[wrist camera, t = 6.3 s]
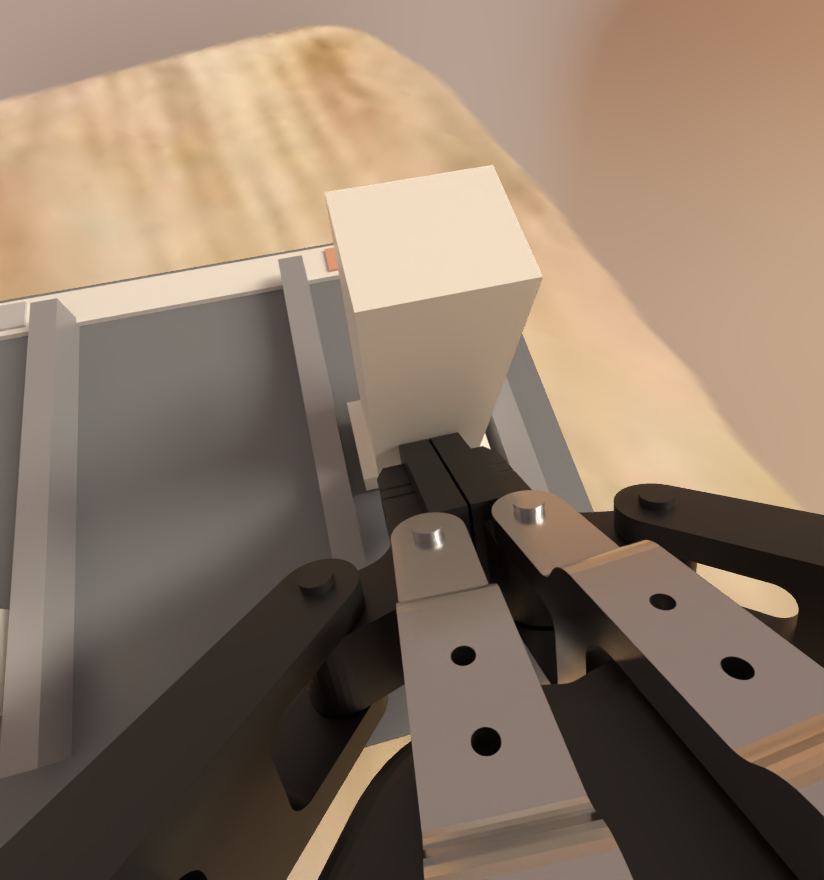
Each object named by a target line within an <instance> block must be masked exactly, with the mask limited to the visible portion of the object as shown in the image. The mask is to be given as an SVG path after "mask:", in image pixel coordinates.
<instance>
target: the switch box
mask: <svg viewBox="0 0 824 880" xmlns="http://www.w3.org/2000/svg"><path fill="white" fill-rule="evenodd" d="M358 400H360V395H359V389H358V383H357V377H356V372H355V366H354V360H353V354H352V348H351V342H350V337H349V331H348V325H347V319H346V313H345V308H344V302H343V296H342V290H341V284H340V279H339V273H338V267H337V261H336V255H335V249H334V244H333V243H332V244H326V245H320V246H314V247H309V248H303V249H297V250H291V251H286V252H280V253H274V254H269V255H263V256H257V257H251V258H246V259H240V260H234V261H228V262H223V263H217V264H211V265H205V266H200V267H194V268H188V269H182V270H177V271H171V272H165V273H160V274H154V275H148V276H142V277H137V278H131V279H125V280H119V281H114V282H108V283H102V284H96V285H91V286H85V287H79V288H73V289H68V290H62V291H56V292H50V293H45V294H39V295H33V296H28V297H22V298H16V299H10V300H5V301H0V609H8V610H10V611H9V626H8V641H7V655H6V670H5V685H4V700H3V715H2V716H0V848H1V847H2V846H3V845H4V844H5V843H6V842H8V841H9V840H10V839H11V838H12V837H13V836H14V835H15V834H16V833H17V832H18V831H19V830H20V829H21V828H22V827H23V826H24V825H25V824H26V823H28V822H29V821H30V820H31V819H32V818H33V817H34V816H35V815H36V814H37V813H38V812H39V811H40V810H41V809H42V808H43V807H44V806H45V805H46V804H47V803H49V802H50V801H51V800H52V799H53V798H54V797H55V796H56V795H57V794H58V793H59V792H60V791H61V790H62V789H63V788H64V787H65V786H66V785H67V784H68V783H70V782H71V781H72V780H73V779H74V778H75V777H76V776H77V775H78V774H79V773H80V772H81V771H82V770H83V769H84V768H85V767H86V766H87V765H88V764H90V763H91V762H92V761H93V760H94V759H95V758H96V757H97V756H98V755H99V754H100V753H101V752H102V751H103V750H104V749H105V748H106V747H107V746H108V745H109V744H111V743H112V742H113V741H114V740H115V739H116V738H117V737H118V736H119V735H120V734H121V733H122V732H123V731H124V730H125V729H126V728H127V727H128V726H129V725H131V724H132V723H133V722H134V721H135V720H136V719H137V718H138V717H139V716H140V715H141V714H142V713H143V712H144V711H145V710H146V709H147V708H148V707H149V706H150V705H152V704H153V703H154V702H155V701H156V700H157V699H158V698H159V697H160V696H161V695H162V694H163V693H164V692H165V691H166V690H167V689H168V688H169V687H170V686H171V685H173V684H174V683H175V682H176V681H177V680H178V679H179V678H180V677H181V676H182V675H183V674H184V673H185V672H186V671H187V670H188V669H189V668H190V667H191V666H193V665H194V664H195V663H196V662H197V661H198V660H199V659H200V658H201V657H202V656H203V655H204V654H205V653H206V652H207V651H208V650H209V649H210V648H211V647H212V646H214V645H215V644H216V643H217V642H218V641H219V640H220V639H221V638H222V637H223V636H224V635H225V634H226V633H227V632H228V631H229V630H230V629H231V628H232V627H233V626H235V625H236V624H237V623H238V622H239V621H240V620H241V619H242V618H243V617H244V616H245V615H246V614H247V613H248V612H249V611H250V610H251V609H252V608H253V607H255V606H256V605H257V604H258V603H259V602H260V601H261V600H262V599H263V598H264V597H265V596H266V595H267V594H268V593H269V592H270V591H271V590H272V589H273V588H274V587H276V586H277V585H278V584H279V583H280V582H281V581H282V580H283V579H284V578H285V577H286V576H287V575H288V574H290V573H291V572H292V571H294V570H295V569H297V568H299V567H301V566H303V565H305V564H307V563H310V562H313V561H316V560H321V559H342V560H346V561H348V562H350V563H352V564H353V565H354V566H355V567H356V568H357V570H360V569H362V568H364V567H366V566H368V565H370V564H372V563H374V562H375V561H377V560H378V559H379V558H381V557H382V556H383V555H384V554H385V553H386V552H387V550H388V549H389V547H390V545H391V543H390V539H389V535H388V531H387V527H386V522H385V517H384V512H383V507H382V502H381V497H380V493H379V488H377V489H373V490H368V491H366V487H365V483H364V479H363V474H362V470H361V465H360V461H359V456H358V452H357V447H356V442H355V438H354V433H353V429H352V424H351V420H350V415H349V411H348V406H347V403H348V402H353V401H358ZM485 434H486V437H487V440H488V443H489V446H490V449H491V450H494V451H496V452H498V453H499V454H500V455H501V456H502V457H503V458H504V460H505V461H506V463H508V464H509V465H510V466H511V467H512V468H513V471H515V472H516V473H517V474H518V475H519V476H520V477H521V478H522V479H523V481H524V482H525V483H526V484H527V485H528V486H529V487H530V488H531V489H532V490H538V491H545V492H549V493H552V494H555V495H557V496H559V497H560V498H562V499H563V500H564V501H565V502H567V503H568V504H569V505H570V506H571V507H573V508H574V509H575V510H576V511H577V512H594V511H593V509H592V506H591V504H590V501H589V499H588V496H587V494H586V491H585V489H584V486H583V484H582V481H581V479H580V476H579V474H578V471H577V469H576V467H575V464H574V462H573V459H572V457H571V454H570V452H569V449H568V447H567V444H566V442H565V439H564V437H563V434H562V432H561V429H560V427H559V424H558V422H557V419H556V417H555V414H554V412H553V409H552V407H551V404H550V402H549V399H548V397H547V394H546V392H545V389H544V387H543V384H542V382H541V379H540V377H539V375H538V372H537V370H536V367H535V365H534V362H533V360H532V357H531V355H530V352H529V350H528V347H527V345H526V342H525V340H524V337H523V335H522V334H521V337H520V340H519V343H518V345H517V348H516V351H515V353H514V356H513V359H512V361H511V364H510V367H509V370H508V372H507V375H506V378H505V380H504V383H503V386H502V388H501V391H500V394H499V397H498V399H497V402H496V405H495V407H494V410H493V413H492V415H491V418H490V421H489V423H488V426H487V429H486V432H485ZM304 688H305V687H304ZM300 693H301V692H300ZM297 697H298V696H297ZM293 702H294V701H293ZM290 706H291V705H290ZM286 711H287V710H286ZM409 734H411V733H410V724H409V715H408V706H407V697H406V689H405V684H404V685H403V686H401V687H400V688H398V689H396V690H395V691H393V692H391V693H390V694H388V704H387V708H386V711H385V713H384V715H383V717H382V718H381V720H380V722H379V723H378V725H377V727H376V729H375V730H374V732H373V734H372V735H371V737H370V739H369V740H368V742H367V744H366V745H365V747H368V746H371V745H375V744H378V743H382V742H385V741H389V740H392V739H396V738H399V737H403V736H406V735H409Z"/></svg>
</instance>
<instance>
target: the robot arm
mask: <svg viewBox="0 0 824 880" xmlns="http://www.w3.org/2000/svg"><path fill="white" fill-rule="evenodd" d="M399 453H400V458H401V464H400V465H395V466H391V467H386V468H383V469H382V471H381V472H380V474H379V476H378V478H377V483H378V488H379V493H380V497H381V502H382V507H383V512H384V517H385V522H386V527H387V531H388V535H389V539H390V543H391V545H390V547H389V549H388V550H387V552H386V553H385V554H384V555H383V556H382V557H381V558H379V559H378V560H377V561H375V562H374V563H372V564H370V565H368V566H366V567H364V568H362V569H360V570H357V568H356V567H355V566H354V565H353V564H352V563H350V562H348V561H346V560H342V559H321V560H316V561H313V562H310V563H307V564H305V565H303V566H301V567H299V568H297V569H295V570H294V571H292V572H291V573H290V574H288V575H287V576H286V577H285V578H284V579H283V580H282V581H281V582H280V583H279V584H278V585H277V586H276V587H274V588H273V589H272V590H271V591H270V592H269V593H268V594H267V595H266V596H265V597H264V598H263V599H262V600H261V601H260V602H259V603H258V604H257V605H256V606H255V607H253V608H252V609H251V610H250V611H249V612H248V613H247V614H246V615H245V616H244V617H243V618H242V619H241V620H240V621H239V622H238V623H237V624H236V625H235V626H233V627H232V628H231V629H230V630H229V631H228V632H227V633H226V634H225V635H224V636H223V637H222V638H221V639H220V640H219V641H218V642H217V643H216V644H215V645H214V646H212V647H211V648H210V649H209V650H208V651H207V652H206V653H205V654H204V655H203V656H202V657H201V658H200V659H199V660H198V661H197V662H196V663H195V664H194V665H193V666H191V667H190V668H189V669H188V670H187V671H186V672H185V673H184V674H183V675H182V676H181V677H180V678H179V679H178V680H177V681H176V682H175V683H174V684H173V685H171V686H170V687H169V688H168V689H167V690H166V691H165V692H164V693H163V694H162V695H161V696H160V697H159V698H158V699H157V700H156V701H155V702H154V703H153V704H152V705H150V706H149V707H148V708H147V709H146V710H145V711H144V712H143V713H142V714H141V715H140V716H139V717H138V718H137V719H136V720H135V721H134V722H133V723H132V724H131V725H129V726H128V727H127V728H126V729H125V730H124V731H123V732H122V733H121V734H120V735H119V736H118V737H117V738H116V739H115V740H114V741H113V742H112V743H111V744H109V745H108V746H107V747H106V748H105V749H104V750H103V751H102V752H101V753H100V754H99V755H98V756H97V757H96V758H95V759H94V760H93V761H92V762H91V763H90V764H88V765H87V766H86V767H85V768H84V769H83V770H82V771H81V772H80V773H79V774H78V775H77V776H76V777H75V778H74V779H73V780H72V781H71V782H70V783H68V784H67V785H66V786H65V787H64V788H63V789H62V790H61V791H60V792H59V793H58V794H57V795H56V796H55V797H54V798H53V799H52V800H51V801H50V802H49V803H47V804H46V805H45V806H44V807H43V808H42V809H41V810H40V811H39V812H38V813H37V814H36V815H35V816H34V817H33V818H32V819H31V820H30V821H29V822H28V823H26V824H25V825H24V826H23V827H22V828H21V829H20V830H19V831H18V832H17V833H16V834H15V835H14V836H13V837H12V838H11V839H10V840H9V841H8V842H6V843H5V844H4V845H3V846H2V847H1V848H0V880H286V879H287V877H288V876H289V874H290V872H291V871H292V869H293V867H294V865H295V864H296V862H297V860H298V859H299V857H300V855H301V854H302V852H303V850H304V849H305V847H306V845H307V843H308V842H309V840H310V838H311V837H312V835H313V833H314V832H315V830H316V828H317V827H318V825H319V823H320V821H321V820H322V818H323V816H324V815H325V813H326V811H327V810H328V808H329V806H330V805H331V803H332V801H333V800H334V798H335V796H336V794H337V793H338V791H339V789H340V788H341V786H342V784H343V783H344V781H345V779H346V778H347V776H348V774H349V772H350V771H351V769H352V767H353V766H354V764H355V762H356V761H357V759H358V757H359V756H360V754H361V752H362V751H363V749H364V747H365V745H366V744H367V742H368V740H369V739H370V737H371V735H372V734H373V732H374V730H375V729H376V727H377V725H378V723H379V722H380V720H381V718H382V717H383V715H384V713H385V711H386V708H387V704H388V694H390V693H391V692H393V691H395V690H396V689H398V688H400V687H401V686H403V685H404V684H405V689H406V697H407V706H408V715H409V724H410V733H411V742H409V743H408V744H407V745H405V746H404V747H403V748H401V749H400V750H399V751H398V752H397V753H396V754H395V755H394V756H393V757H392V758H391V759H390V760H389V761H387V763H386V764H385V765H384V766H383V767H382V768H381V770H380V771H379V772H378V773H377V774H376V776H375V777H374V778H373V779H372V781H371V782H370V784H369V785H368V787H367V788H366V790H365V791H364V793H363V794H362V796H361V797H360V799H359V800H358V802H357V804H356V806H355V808H354V809H353V811H352V813H351V815H350V817H349V819H348V821H347V823H346V825H345V827H344V829H343V831H342V833H341V835H340V837H339V839H338V841H337V843H336V845H335V847H334V849H333V851H332V852H331V854H330V856H329V858H328V860H327V862H326V864H325V866H324V868H323V870H322V872H321V874H320V876H319V878H318V880H824V515H820V514H815V513H810V512H805V511H800V510H794V509H789V508H784V507H779V506H773V505H768V504H763V503H758V502H753V501H747V500H742V499H737V498H732V497H727V496H721V495H716V494H711V493H706V492H701V491H695V490H690V489H685V488H680V487H675V486H669V485H663V484H639V485H633V486H630V487H627V488H624V489H622V490H621V491H619V492H618V493H617V494H616V496H615V498H614V511H607V512H577V511H576V510H575V509H574V508H573V507H571V506H570V505H569V504H568V503H567V502H565V501H564V500H563V499H562V498H560V497H559V496H557V495H555V494H552V493H549V492H545V491H538V490H532V489H531V488H530V487H529V486H528V485H527V484H526V483H525V482H524V481H523V479H522V478H521V477H520V476H519V475H518V474H517V473H516V472H515V471H513V468H512V467H511V466H510V465H509V464H508V463H506V461H505V460H504V458H503V457H502V456H501V455H500V454H499V453H498V452H496V451H494V450H491V449H489V448H486V447H484V446H480V447H476V448H470V447H469V445H468V444H467V443H466V442H465V440H464V439H463V438H462V436H461V435H460V434H459V433H458V432H456V433H452V434H447V435H442V436H438V437H433V438H429V440H428V439H424V440H420V441H415V442H411V443H406V444H401V445H399ZM697 563H700V564H703V565H707V566H711V567H714V568H718V569H721V570H725V571H729V572H732V573H736V574H739V575H743V576H747V577H750V578H754V579H757V580H761V581H765V582H768V583H772V584H775V585H777V586H779V587H781V588H783V589H785V590H786V591H788V592H789V593H790V594H791V595H792V596H793V597H794V599H795V600H796V602H797V604H798V608H799V612H798V614H797V615H796V616H794V617H790V618H778V617H774V616H770V615H767V614H764V613H761V612H758V611H754V610H751V609H748V608H745V607H742V606H740V605H738V604H737V603H736V602H734V601H733V600H732V599H730V598H729V597H728V596H726V595H725V594H724V593H722V592H721V591H720V590H718V589H717V588H716V587H714V586H713V585H712V584H710V583H709V582H708V581H706V580H705V579H704V578H702V577H701V576H700V575H698V574H697V573H696V568H697ZM304 687H305V688H304ZM300 692H301V693H300ZM297 696H298V697H297ZM293 701H294V702H293ZM290 705H291V706H290ZM286 710H287V711H286Z"/></svg>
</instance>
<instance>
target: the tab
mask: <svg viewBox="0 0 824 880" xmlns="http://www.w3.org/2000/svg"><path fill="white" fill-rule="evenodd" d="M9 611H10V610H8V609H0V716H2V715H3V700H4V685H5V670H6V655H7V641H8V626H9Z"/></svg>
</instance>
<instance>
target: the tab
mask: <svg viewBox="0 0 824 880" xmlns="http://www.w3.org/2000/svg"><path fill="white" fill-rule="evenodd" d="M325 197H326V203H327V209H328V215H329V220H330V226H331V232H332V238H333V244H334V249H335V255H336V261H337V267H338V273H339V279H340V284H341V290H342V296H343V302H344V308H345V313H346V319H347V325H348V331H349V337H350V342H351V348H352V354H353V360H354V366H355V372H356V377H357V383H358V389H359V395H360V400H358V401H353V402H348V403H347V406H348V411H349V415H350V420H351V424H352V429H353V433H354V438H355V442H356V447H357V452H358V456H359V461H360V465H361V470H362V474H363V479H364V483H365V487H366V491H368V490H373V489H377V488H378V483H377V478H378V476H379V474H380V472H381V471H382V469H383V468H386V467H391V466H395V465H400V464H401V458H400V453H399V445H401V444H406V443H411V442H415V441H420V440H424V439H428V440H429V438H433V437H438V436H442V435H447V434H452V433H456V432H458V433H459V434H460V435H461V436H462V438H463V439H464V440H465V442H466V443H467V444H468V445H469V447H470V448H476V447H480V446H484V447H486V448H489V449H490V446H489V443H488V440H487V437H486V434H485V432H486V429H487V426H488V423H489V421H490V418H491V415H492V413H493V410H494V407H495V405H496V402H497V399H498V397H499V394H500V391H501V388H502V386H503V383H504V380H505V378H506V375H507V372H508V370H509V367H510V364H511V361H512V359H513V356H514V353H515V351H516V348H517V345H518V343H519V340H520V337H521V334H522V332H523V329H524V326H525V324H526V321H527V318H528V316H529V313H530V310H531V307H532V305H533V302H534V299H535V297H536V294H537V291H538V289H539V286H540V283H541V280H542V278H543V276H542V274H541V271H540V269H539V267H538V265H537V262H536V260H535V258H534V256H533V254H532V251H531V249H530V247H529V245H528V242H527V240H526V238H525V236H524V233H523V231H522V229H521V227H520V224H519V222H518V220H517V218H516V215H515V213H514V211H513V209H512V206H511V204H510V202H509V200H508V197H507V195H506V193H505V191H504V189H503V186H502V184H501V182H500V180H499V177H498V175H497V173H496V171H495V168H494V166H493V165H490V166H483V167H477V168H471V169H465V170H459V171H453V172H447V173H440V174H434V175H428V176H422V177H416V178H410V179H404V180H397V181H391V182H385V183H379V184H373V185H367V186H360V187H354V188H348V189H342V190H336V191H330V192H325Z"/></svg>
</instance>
